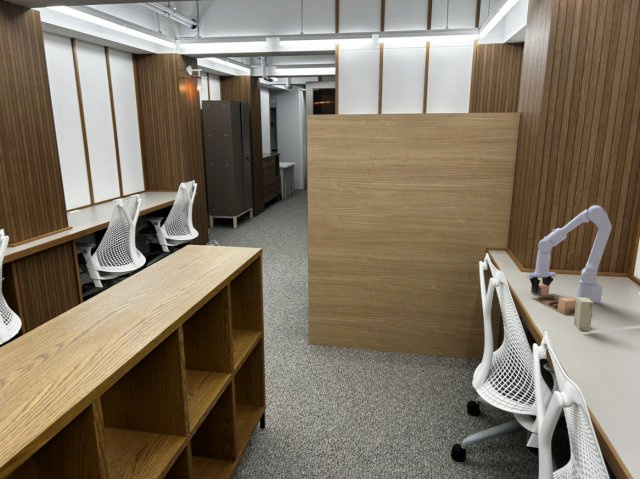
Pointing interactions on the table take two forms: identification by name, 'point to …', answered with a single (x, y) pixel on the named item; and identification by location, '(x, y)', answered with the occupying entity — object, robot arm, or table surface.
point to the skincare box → (583, 314)
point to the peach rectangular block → (541, 290)
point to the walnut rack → (553, 303)
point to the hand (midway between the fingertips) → (539, 292)
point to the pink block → (566, 304)
